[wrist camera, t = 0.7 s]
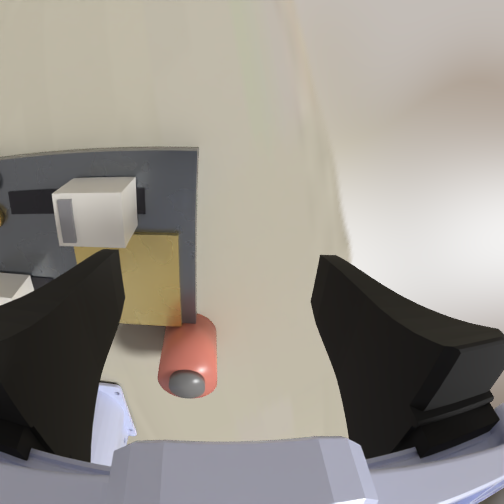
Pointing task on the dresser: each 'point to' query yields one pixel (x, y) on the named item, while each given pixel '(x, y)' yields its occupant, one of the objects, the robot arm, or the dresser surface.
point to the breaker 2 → (96, 212)
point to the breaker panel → (131, 258)
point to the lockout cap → (189, 359)
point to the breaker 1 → (14, 286)
